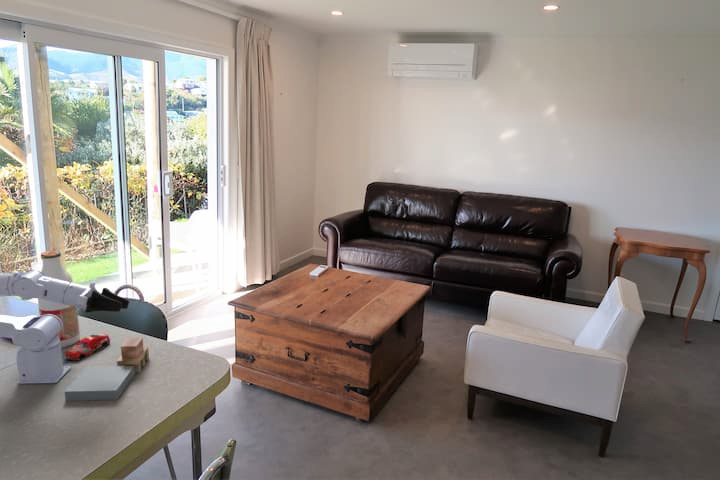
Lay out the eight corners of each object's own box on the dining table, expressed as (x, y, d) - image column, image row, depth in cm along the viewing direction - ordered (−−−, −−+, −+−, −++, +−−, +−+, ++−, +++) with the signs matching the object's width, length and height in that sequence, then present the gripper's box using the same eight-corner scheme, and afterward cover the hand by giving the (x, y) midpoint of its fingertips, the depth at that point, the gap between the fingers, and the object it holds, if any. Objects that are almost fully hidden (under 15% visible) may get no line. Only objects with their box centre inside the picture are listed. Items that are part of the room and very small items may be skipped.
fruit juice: (83, 343, 147) (72, 254, 140) (46, 352, 141) (33, 259, 134) (77, 332, 154) (66, 246, 147) (42, 340, 148) (29, 251, 141)
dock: (65, 400, 118) (64, 391, 117) (88, 375, 130) (87, 366, 129) (117, 399, 119) (116, 390, 118) (135, 374, 131) (134, 365, 130)
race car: (75, 364, 136) (73, 351, 135) (61, 360, 137) (59, 347, 136) (113, 344, 148) (112, 331, 147) (100, 340, 149) (98, 328, 148)
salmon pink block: (121, 358, 132) (120, 346, 131) (128, 349, 137) (127, 338, 136) (137, 358, 132) (136, 346, 131) (143, 349, 137) (142, 337, 136)
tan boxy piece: (118, 372, 131) (116, 361, 130) (129, 358, 139) (127, 347, 138) (139, 372, 132) (138, 360, 131) (149, 358, 139) (148, 346, 139)
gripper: (63, 279, 117) (122, 292, 120) (82, 277, 131) (135, 289, 134) (54, 307, 117) (113, 320, 119) (74, 302, 131) (127, 314, 134)
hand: (124, 306), depth 127 cm, fingers open, 7 cm apart
